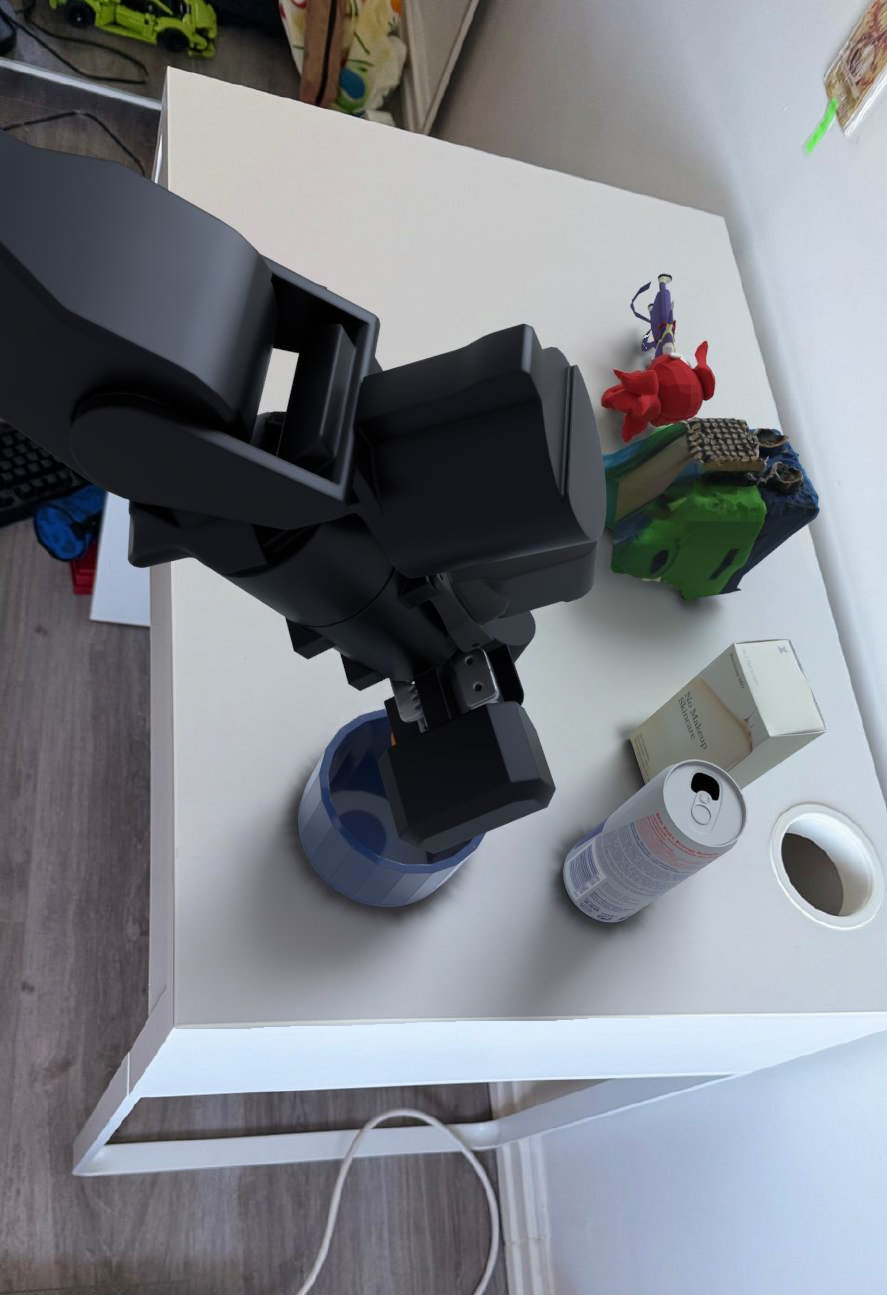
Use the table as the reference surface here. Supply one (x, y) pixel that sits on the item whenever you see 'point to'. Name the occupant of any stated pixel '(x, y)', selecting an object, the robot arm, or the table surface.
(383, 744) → the blue plastic pot
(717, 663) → the cosmetic box
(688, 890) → the table surface
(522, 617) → the scrub stick
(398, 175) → the table surface
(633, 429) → the figurine
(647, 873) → the energy drink
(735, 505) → the sculpture
